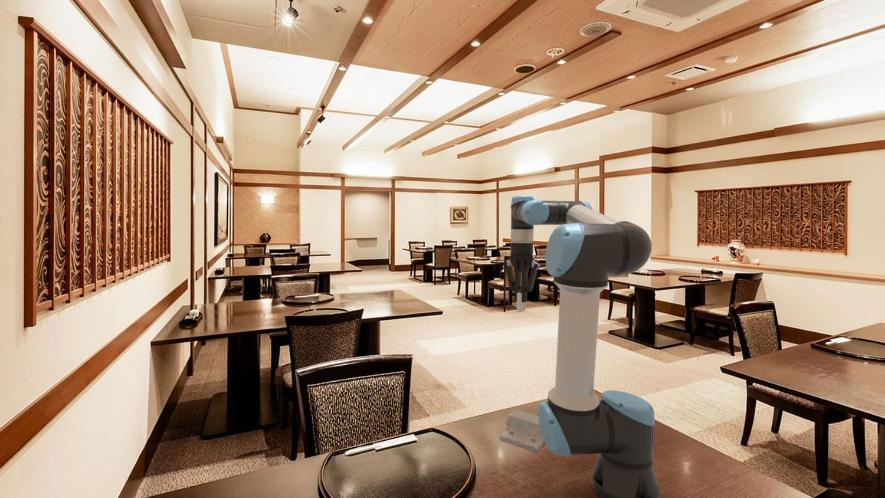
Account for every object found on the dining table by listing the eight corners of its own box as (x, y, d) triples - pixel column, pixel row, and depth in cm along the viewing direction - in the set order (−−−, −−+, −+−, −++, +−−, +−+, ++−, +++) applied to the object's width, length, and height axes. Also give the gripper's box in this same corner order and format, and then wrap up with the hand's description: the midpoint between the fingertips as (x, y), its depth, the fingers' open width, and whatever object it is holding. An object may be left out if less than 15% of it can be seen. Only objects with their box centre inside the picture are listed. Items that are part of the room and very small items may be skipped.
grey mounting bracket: (558, 428, 134) (559, 412, 133) (537, 452, 120) (537, 435, 119) (523, 417, 140) (523, 403, 140) (499, 439, 127) (499, 422, 126)
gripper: (544, 242, 142) (543, 312, 143) (509, 241, 149) (508, 307, 151) (535, 243, 136) (533, 316, 137) (499, 241, 143) (498, 310, 145)
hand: (520, 311), depth 144 cm, fingers closed
